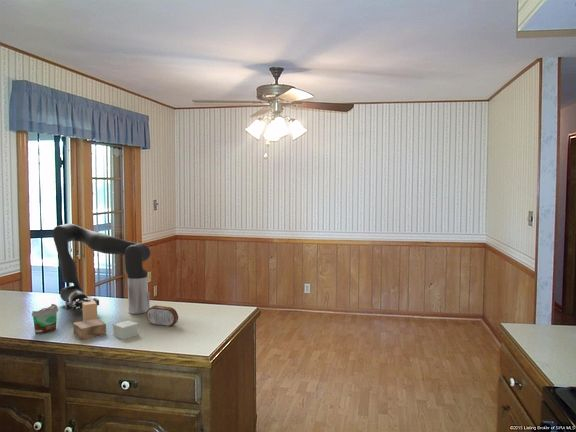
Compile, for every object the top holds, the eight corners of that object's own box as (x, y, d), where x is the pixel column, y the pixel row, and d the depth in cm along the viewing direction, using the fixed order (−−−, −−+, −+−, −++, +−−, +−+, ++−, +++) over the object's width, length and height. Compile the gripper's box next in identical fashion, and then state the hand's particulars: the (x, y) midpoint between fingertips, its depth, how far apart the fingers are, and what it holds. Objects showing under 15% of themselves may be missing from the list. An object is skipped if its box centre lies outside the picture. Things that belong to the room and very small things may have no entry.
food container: (45, 336, 188) (44, 312, 187) (32, 335, 189) (31, 311, 189) (65, 326, 200) (64, 304, 199) (53, 325, 202) (52, 303, 201)
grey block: (128, 331, 194) (128, 320, 194) (138, 335, 190) (137, 323, 189) (113, 336, 189) (113, 324, 188) (123, 339, 184) (122, 327, 184)
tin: (178, 325, 201) (178, 307, 201) (174, 328, 198) (174, 309, 198) (150, 322, 206) (149, 304, 206) (145, 324, 203) (145, 306, 203)
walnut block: (97, 329, 197) (97, 318, 197) (106, 335, 190) (105, 323, 189) (73, 334, 191) (73, 322, 190) (81, 340, 183) (80, 328, 183)
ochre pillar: (94, 322, 206) (94, 300, 205) (97, 325, 202) (96, 303, 201) (83, 324, 203) (82, 302, 202) (85, 327, 199) (84, 305, 198)
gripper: (61, 294, 218) (68, 301, 205) (93, 290, 226) (101, 296, 213) (62, 309, 218) (68, 317, 205) (93, 304, 227) (102, 312, 213)
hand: (85, 307), depth 209 cm, fingers open, 8 cm apart
